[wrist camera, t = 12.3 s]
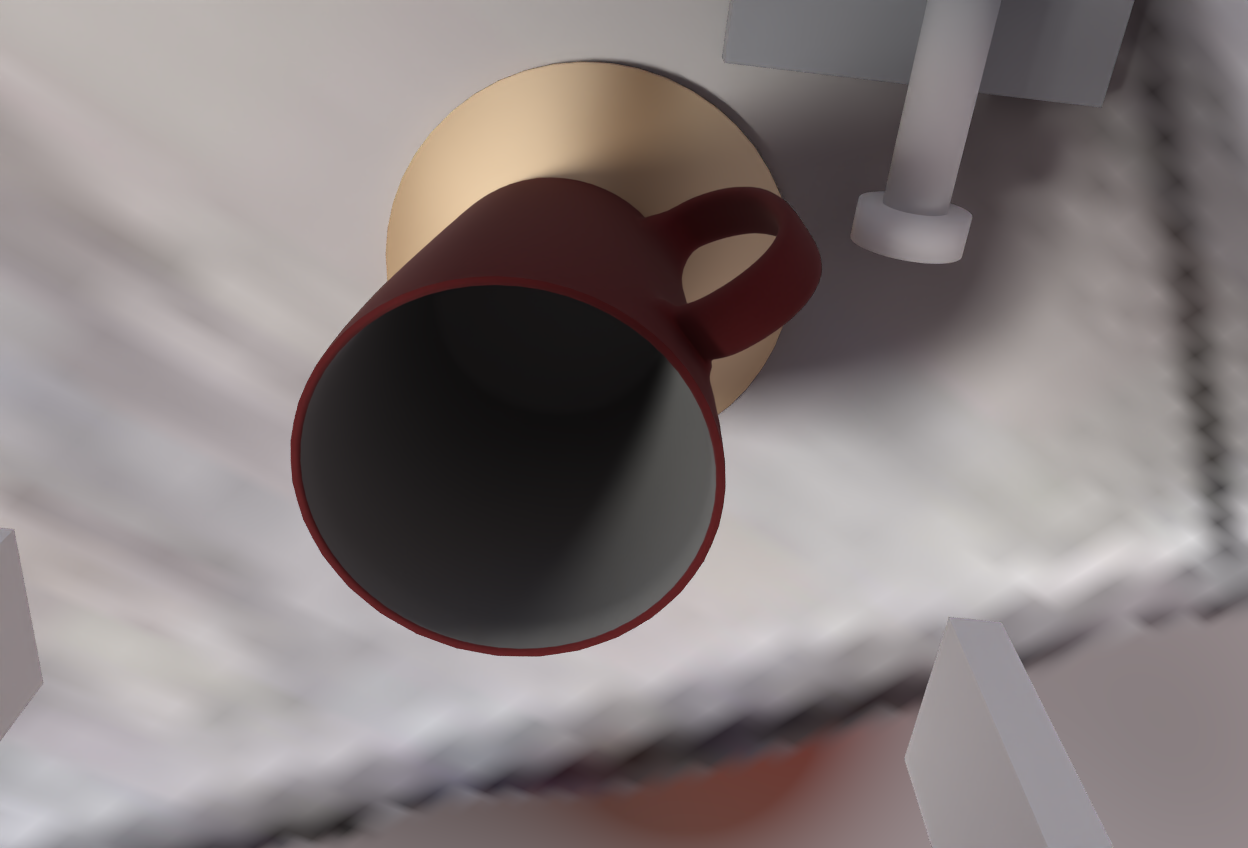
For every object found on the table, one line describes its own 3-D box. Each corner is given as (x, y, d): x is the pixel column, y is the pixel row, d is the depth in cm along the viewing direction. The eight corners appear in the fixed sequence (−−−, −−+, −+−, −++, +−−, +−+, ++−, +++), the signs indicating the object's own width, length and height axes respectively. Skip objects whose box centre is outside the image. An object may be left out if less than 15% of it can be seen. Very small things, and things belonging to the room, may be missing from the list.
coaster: (387, 428, 34) (384, 434, 33) (390, 36, 28) (387, 38, 28) (755, 469, 34) (756, 475, 34) (827, 88, 29) (830, 90, 28)
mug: (679, 11, 27) (691, 72, 18) (852, 274, 30) (946, 452, 21) (346, 266, 31) (198, 437, 21) (532, 480, 34) (479, 716, 24)
